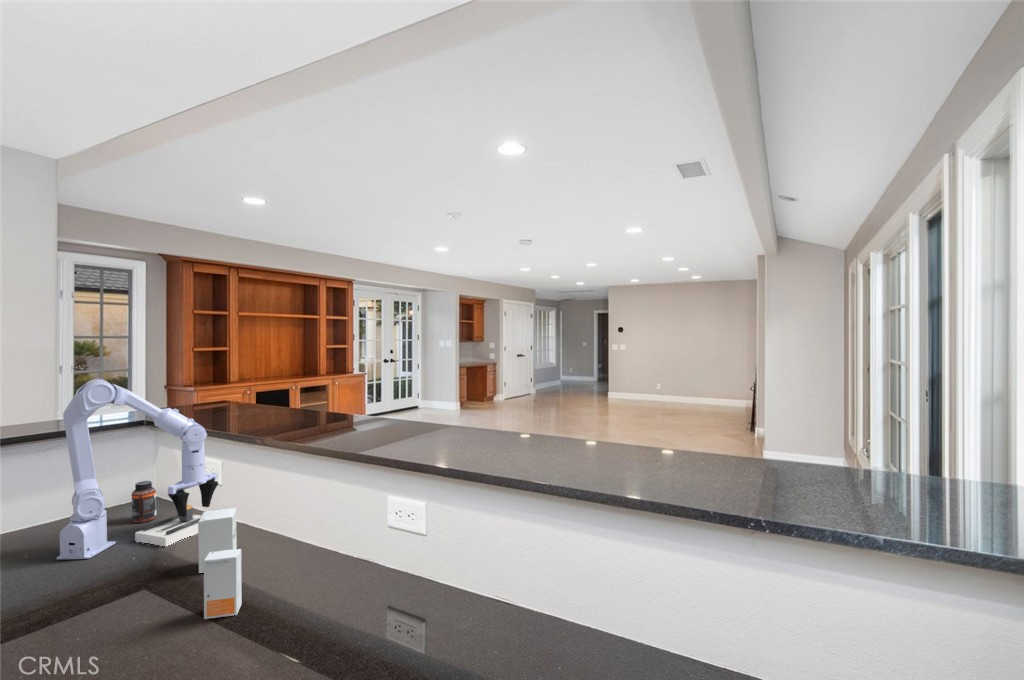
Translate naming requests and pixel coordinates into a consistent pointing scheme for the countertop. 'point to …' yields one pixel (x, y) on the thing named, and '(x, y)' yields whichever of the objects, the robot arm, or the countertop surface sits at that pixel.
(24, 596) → the countertop surface
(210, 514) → the supplement box
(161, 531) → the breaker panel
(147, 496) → the supplement bottle
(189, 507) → the handle
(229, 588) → the skincare box
